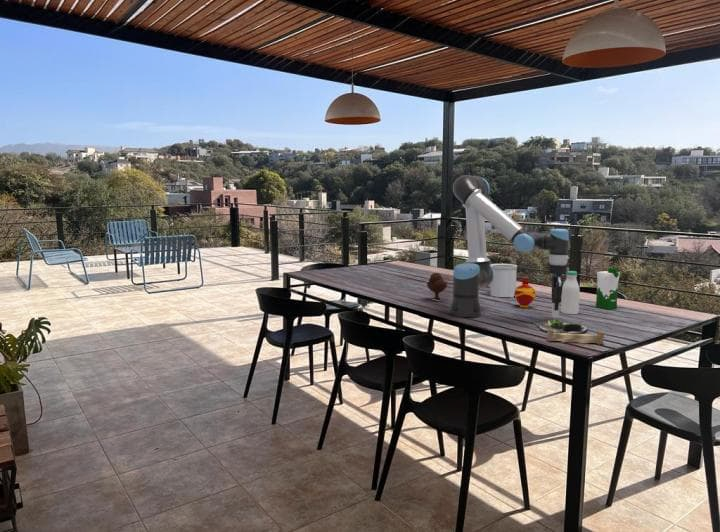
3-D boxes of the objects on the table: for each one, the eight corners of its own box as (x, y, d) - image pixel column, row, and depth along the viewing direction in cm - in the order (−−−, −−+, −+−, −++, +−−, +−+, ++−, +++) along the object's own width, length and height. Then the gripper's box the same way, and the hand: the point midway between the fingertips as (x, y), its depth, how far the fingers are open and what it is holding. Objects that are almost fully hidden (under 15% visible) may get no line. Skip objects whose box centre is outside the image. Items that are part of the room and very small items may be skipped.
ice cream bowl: (448, 302, 263) (449, 274, 261) (427, 302, 263) (428, 273, 261) (445, 298, 273) (446, 271, 272) (425, 298, 274) (425, 271, 272)
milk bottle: (580, 315, 233) (582, 272, 231) (562, 314, 235) (564, 272, 232) (576, 311, 241) (578, 270, 238) (559, 311, 242) (561, 270, 240)
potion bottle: (512, 307, 249) (514, 278, 247) (514, 304, 258) (515, 275, 257) (535, 309, 245) (536, 279, 243) (536, 305, 255) (537, 276, 253)
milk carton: (609, 310, 244) (612, 269, 242) (592, 307, 252) (594, 267, 249) (619, 308, 249) (622, 268, 247) (602, 305, 257) (604, 266, 254)
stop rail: (548, 341, 187) (548, 330, 186) (546, 339, 190) (547, 328, 189) (603, 344, 184) (604, 332, 183) (601, 342, 186) (601, 331, 186)
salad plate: (526, 330, 205) (527, 319, 205) (545, 323, 218) (545, 312, 218) (575, 339, 192) (575, 327, 192) (591, 330, 205) (591, 319, 205)
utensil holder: (489, 297, 276) (491, 266, 274) (487, 293, 291) (488, 263, 289) (517, 298, 274) (519, 266, 272) (513, 293, 289) (515, 263, 286)
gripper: (570, 266, 212) (567, 320, 215) (563, 262, 224) (561, 314, 227) (551, 265, 213) (549, 319, 216) (546, 262, 226) (543, 313, 229)
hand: (555, 317), depth 222 cm, fingers closed
